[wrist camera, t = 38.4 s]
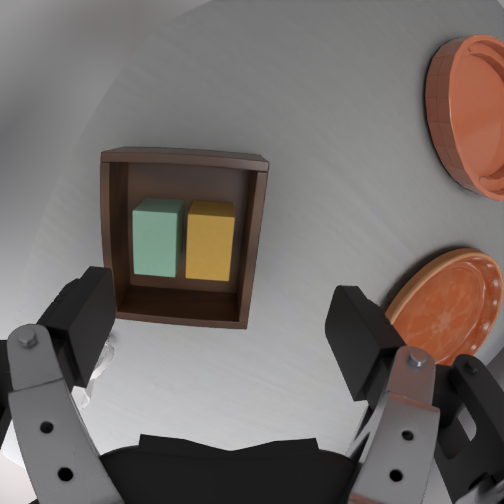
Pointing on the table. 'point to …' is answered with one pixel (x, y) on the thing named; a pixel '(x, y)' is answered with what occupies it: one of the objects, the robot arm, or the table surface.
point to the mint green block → (158, 236)
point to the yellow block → (209, 240)
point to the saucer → (449, 304)
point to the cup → (91, 380)
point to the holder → (188, 189)
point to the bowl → (469, 112)
